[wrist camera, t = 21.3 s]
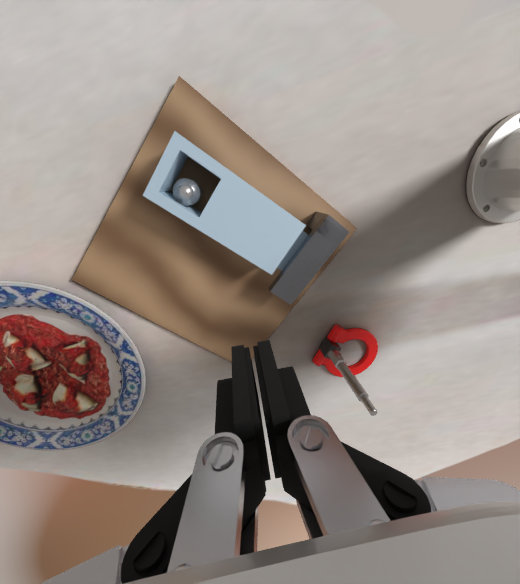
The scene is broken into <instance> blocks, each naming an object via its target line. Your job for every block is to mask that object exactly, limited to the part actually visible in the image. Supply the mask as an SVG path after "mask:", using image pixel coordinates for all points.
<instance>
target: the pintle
mask: <svg viewBox="0 0 520 584" xmlns="http://www.w3.org/2000/svg"><path fill="white" fill-rule="evenodd" d="M173 195H174V198H175V199H176V201H177V202H179V203H180V204H182V205H185V206H190V205H193V204H195V203H197V202H199V201H200V200H201V198H202V195H203V191H202V187H201V186H200V184H199V183H198V182H196V181H195V180H191V179H187V178H182V179H179V180H178V181H176V183H175V184H174V186H173Z"/></svg>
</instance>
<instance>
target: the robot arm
mask: <svg viewBox="0 0 520 584" xmlns="http://www.w3.org/2000/svg"><path fill="white" fill-rule="evenodd" d="M467 197H468V201H469V203H470V206H471V208H472V209H473V211H474V212H475V213H476V214H477V215H478V216H479V217H481V218H482V219H484V220H487V221H489V222H496V223H510V222H514V221H518V220H520V111H518V112H516V113H514V114H511V115H510V116H508V117H507V118H505V119H503V120H502V121H501V122H500V123H498V124H497V125H496V126H495V127H494V128H493V129H492V130H491V131H490V132H489V133H488V134H487V136H486V137H485V138H484V139H483V141H482V142H481V144H480V145H479V147H478V148H477V150H476V152H475V154H474V157H473V159H472V161H471V164H470V167H469V170H468V176H467ZM231 350H232V378H229V379H224V380H218V383H217V400H216V421H215V435H213V436H211V437H210V438H209V439H207V440H206V441H205V442H204V444H203V445H202V446H201V447H200V450H199V452H198V455H197V459H196V462H195V466H194V470H193V474H192V475H191V476H190V477H189V478H188V479H187V480H186V481H185V482H184V483H183V485H182V486H181V487H180V488H179V489H178V490H177V491H176V492H175V493H174V494H173V496H172V497H171V498H170V499H169V500H168V501H167V502H166V503H165V504H164V505H163V506H162V508H161V509H160V510H159V511H158V512H157V513H156V514H155V515H154V516H153V518H151V520H150V521H149V522H148V523H147V524H146V525H145V526H144V527H143V528H142V529H141V531H140V532H139V533H138V534H137V535H136V536H135V538H134V539H133V541H132V542H131V543H130V544H129V545H127V546H125V547H123V548H122V547H121V546H120V545H118V546H116V547H114V548H112V549H110V550H108V551H106V552H104V553H102V554H100V555H98V556H96V557H94V558H92V559H89V560H88V561H85V562H83V563H81V564H79V565H77V566H75V567H73V568H71V569H69V570H67V571H65V572H63V573H61V574H59V575H57V576H55V577H53V578H51V579H49V580H47V581H45V582H43V583H41V584H520V491H519V490H518V489H516V488H515V487H513V486H511V485H509V484H506V483H504V482H501V481H496V480H489V479H462V478H437V477H423V479H422V481H418V480H413V479H412V478H410V477H409V476H407V475H405V474H404V473H402V472H400V471H398V470H396V469H394V468H392V467H390V466H388V465H386V464H384V463H382V462H380V461H378V460H376V459H374V458H372V457H370V456H368V455H366V454H364V453H362V452H360V451H358V450H356V449H354V448H352V447H350V446H348V445H347V444H345V443H343V442H341V441H340V440H339V439H338V437H337V435H336V434H335V432H334V431H333V429H332V427H331V426H330V425H329V424H328V423H327V422H326V421H325V420H323V419H322V418H320V417H317V416H312V415H311V414H310V412H309V409H308V406H307V403H306V401H305V398H304V395H303V393H302V390H301V387H300V385H299V382H298V379H297V377H296V374H295V371H294V369H293V367H286V368H281V369H277V366H276V362H275V359H274V355H273V352H272V348H271V345H270V341H269V340H266V341H260V342H257V346H253V350H254V356H255V362H256V368H257V374H258V380H259V386H260V392H261V398H262V404H263V410H264V416H265V422H266V428H267V433H268V439H269V445H270V450H271V456H272V462H273V467H274V473H275V478H280V477H281V478H282V483H283V488H284V491H285V492H287V493H288V494H290V495H291V496H292V497H294V498H295V499H296V501H297V506H298V508H299V511H300V514H301V517H302V519H303V522H304V525H305V527H306V530H307V533H308V535H309V540H305V541H301V542H296V543H292V544H288V545H283V546H279V547H275V548H271V549H266V550H262V551H258V552H257V536H258V506H259V504H260V503H261V501H262V499H263V498H264V496H265V492H266V486H265V481H266V480H271V479H270V472H269V465H268V459H267V452H266V445H265V439H264V432H263V425H262V419H261V412H260V406H259V399H258V393H257V388H256V382H255V377H254V371H253V366H252V360H251V355H250V349H249V347H246V348H244V345H238V346H233V347H231Z"/></svg>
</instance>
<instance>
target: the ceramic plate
mask: <svg viewBox="0 0 520 584" xmlns="http://www.w3.org/2000/svg"><path fill="white" fill-rule="evenodd" d="M145 387H146V376H145V368H144V365H143V362H142V358H141V356H140V353H139V351H138V349H137V347H136V346H135V344H134V342H133V341H132V339H131V338H130V337H129V335H128V334H127V333H126V332H125V330H124V329H123V328H122V327H121V326H120V325H119V324H118V323H117V322H116V321H115V320H114V319H112V318H111V317H110V316H109V315H107V314H106V313H105V312H104V311H102V310H101V309H99V308H98V307H96V306H95V305H93V304H91V303H89V302H88V301H86V300H84V299H82V298H80V297H78V296H75V295H73V294H71V293H68V292H65V291H63V290H60V289H57V288H53V287H50V286H46V285H41V284H36V283H30V282H22V281H0V442H1V443H5V444H9V445H12V446H16V447H22V448H28V449H36V450H65V449H75V448H79V447H83V446H87V445H91V444H94V443H97V442H100V441H102V440H104V439H106V438H108V437H110V436H112V435H114V434H115V433H117V432H118V431H120V430H121V429H122V428H123V427H125V426H126V425H127V424H128V423H129V422H130V421H131V419H132V418H133V417H134V416H135V414H136V413H137V411H138V409H139V408H140V405H141V403H142V400H143V397H144V393H145Z"/></svg>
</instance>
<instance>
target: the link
mask: <svg viewBox="0 0 520 584" xmlns="http://www.w3.org/2000/svg"><path fill="white" fill-rule="evenodd" d="M188 157H189V158H191V159H192V160H194V161H195V162H197V163H198V164H199V165H201V166H202V167H204V168H205V169H207V170H208V171H209V172H211V173H212V174H214V175H215V176H217V177H218V178H219V179H221V180H220V182H219V184H218V185H217V187H216V189H215V191H214V193H213V194H212V196H211V198H210V200H209V201H208V203H207V205H206V207H205V208H204V210H203V212H201V211H199V210H198V209H196V208H195V207H193V206H192V205H190V206H185V205H182V204H180V203H179V202H177V201H176V199H175V198H174V195H173V193H171V192H170V191H171V189H172V187H173V185H174V183H175V181H176V179H177V177H178V175H179V173H180V171H181V170H182V168H183V166H184V164H185V162H186V160H187V158H188ZM143 196H144V197H146V198H147V199H149V200H151V201H152V202H154V203H155V204H157V205H159V206H160V207H162V208H164V209H165V210H167V211H169V212H170V213H172V214H173V215H175V216H177V217H178V218H180V219H182V220H183V221H185V222H186V223H188V224H190V225H191V226H193V227H195V228H196V229H198V230H199V231H201V232H203V233H204V234H206V235H208V236H209V237H211V238H212V239H214V240H216V241H217V242H219V243H221V244H222V245H224V246H225V247H227V248H229V249H230V250H232V251H234V252H235V253H237V254H238V255H240V256H242V257H243V258H245V259H247V260H248V261H250V262H252V263H253V264H255V265H256V266H258V267H260V268H261V269H263V270H265V271H266V272H268V273H269V274H271V275H272V274H273V273H274V271H275V270H276V268H278V269H280V270H281V271H282V269H283V268H284V267H285V265H286V264H287V263H288V261H289V260H290V259H291V258H292V256H293V255H294V254H295V252H296V251H297V250H298V248H299V247H300V246H301V244H302V243H303V242H304V240H305V239H306V238H307V236H308V234H307V233H305V232H304V231H303V229H304V228H305V226H306V225H305V224H304V223H302V222H301V221H299V220H298V219H297V218H295V217H294V216H292V215H291V214H290V213H288V212H287V211H285V210H284V209H283V208H281V207H280V206H279V205H277V204H276V203H274V202H273V201H272V200H270V199H269V198H267V197H266V196H265V195H263V194H262V193H260V192H259V191H258V190H256V189H255V188H254V187H252V186H251V185H249V184H248V183H247V182H245V181H244V180H242V179H241V178H240V177H238V176H237V175H235V174H234V173H233V172H231V171H230V170H229V169H227V168H226V167H224V166H223V165H222V164H220V163H219V162H217V161H216V160H215V159H213V158H212V157H210V156H209V155H208V154H206V153H205V152H203V151H202V150H201V149H199V148H198V147H197V146H195V145H194V144H192V143H191V142H190V141H188V140H187V139H185V138H184V137H183V136H181V135H180V134H178V133H177V132H176V131H174V133H173V135H172V137H171V139H170V141H169V143H168V145H167V147H166V149H165V151H164V153H163V155H162V157H161V159H160V161H159V163H158V165H157V168H156V170H155V172H154V174H153V176H152V178H151V180H150V182H149V184H148V186H147V188H146V190H145V192H144V194H143Z"/></svg>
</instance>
